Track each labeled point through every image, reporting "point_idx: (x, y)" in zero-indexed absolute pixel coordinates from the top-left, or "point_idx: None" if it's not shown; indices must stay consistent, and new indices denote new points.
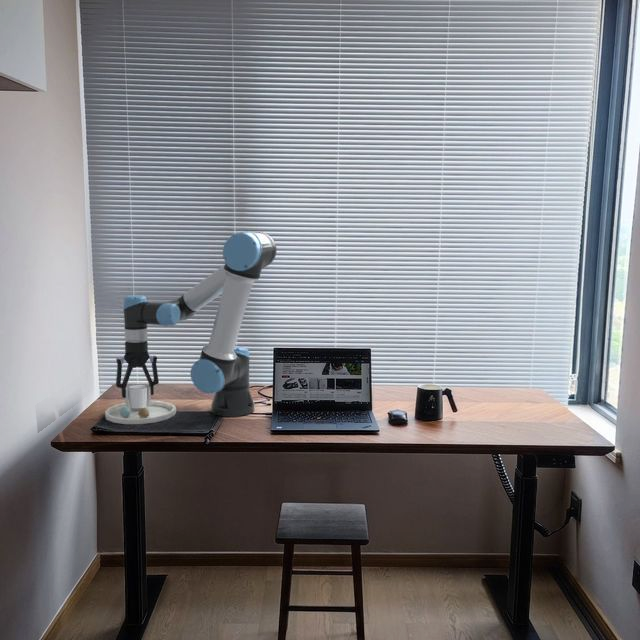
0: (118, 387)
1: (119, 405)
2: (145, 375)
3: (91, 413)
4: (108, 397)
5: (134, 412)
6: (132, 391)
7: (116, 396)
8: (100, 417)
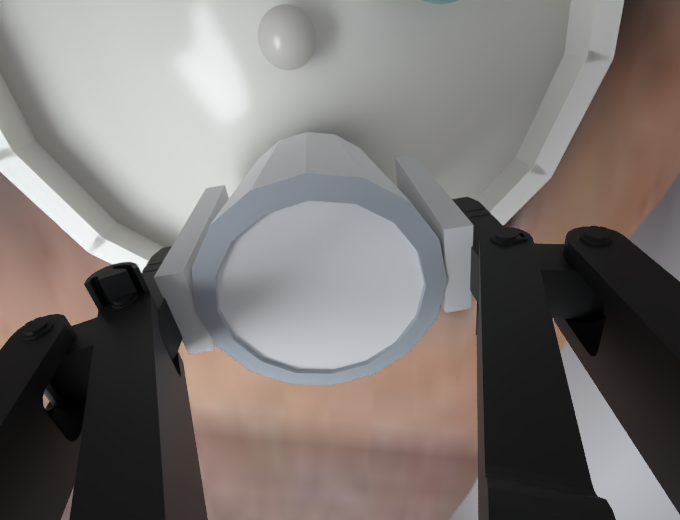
0: (585, 227)
1: None
2: (195, 458)
3: (616, 220)
4: (461, 469)
5: (345, 103)
6: (387, 184)
7: (423, 478)
8: (593, 104)
